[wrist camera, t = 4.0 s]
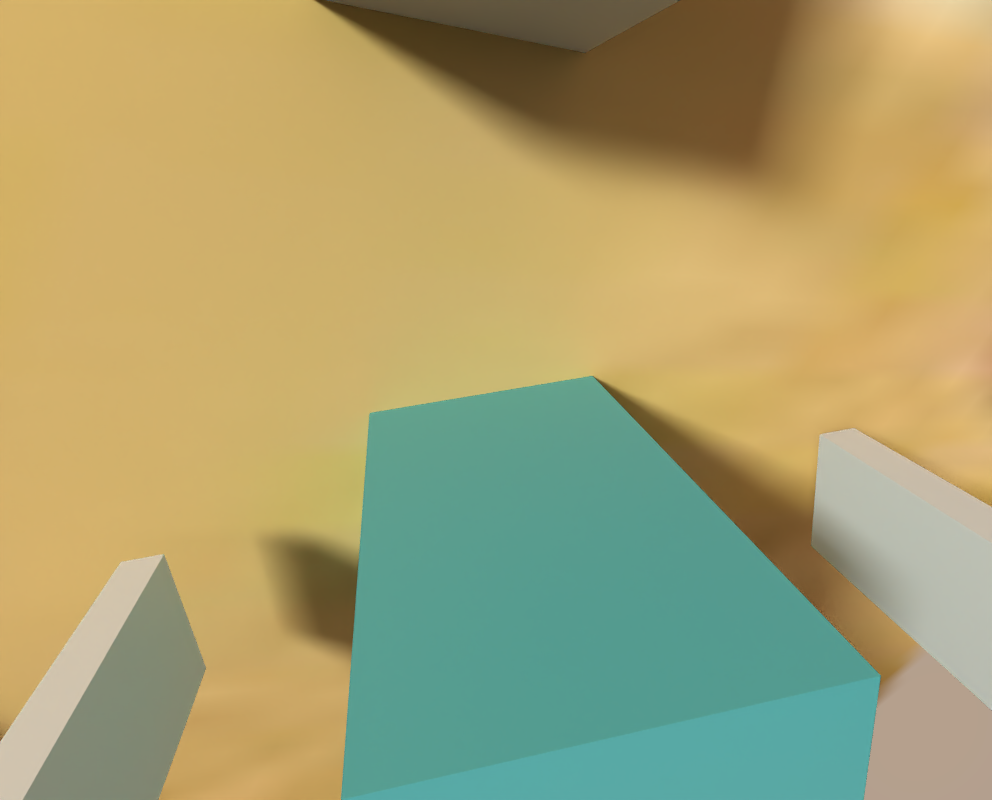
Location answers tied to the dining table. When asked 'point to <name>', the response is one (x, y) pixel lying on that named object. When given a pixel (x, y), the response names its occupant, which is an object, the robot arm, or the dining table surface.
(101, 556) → the dining table surface
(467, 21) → the grey block
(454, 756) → the teal block
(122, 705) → the robot arm
